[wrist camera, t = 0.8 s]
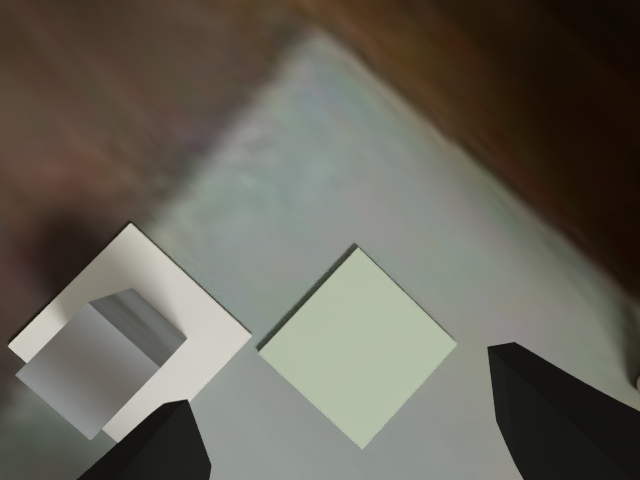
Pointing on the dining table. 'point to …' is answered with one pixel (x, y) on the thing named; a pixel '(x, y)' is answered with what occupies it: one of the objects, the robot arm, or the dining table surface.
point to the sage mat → (358, 348)
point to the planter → (638, 384)
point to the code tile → (163, 295)
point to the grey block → (101, 359)
